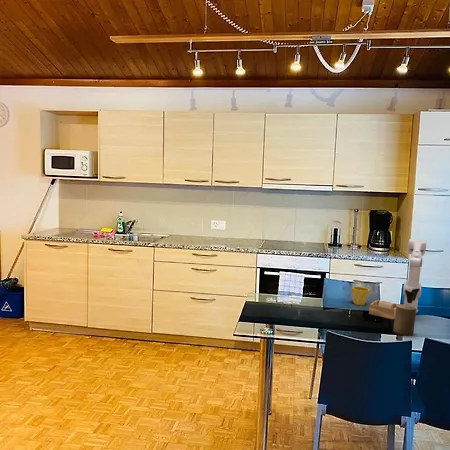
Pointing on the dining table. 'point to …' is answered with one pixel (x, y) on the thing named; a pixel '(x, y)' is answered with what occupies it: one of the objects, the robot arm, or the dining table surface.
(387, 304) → the small crate
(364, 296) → the plant pot
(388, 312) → the big crate
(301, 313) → the dining table surface
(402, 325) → the pillar candle
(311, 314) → the dining table surface
